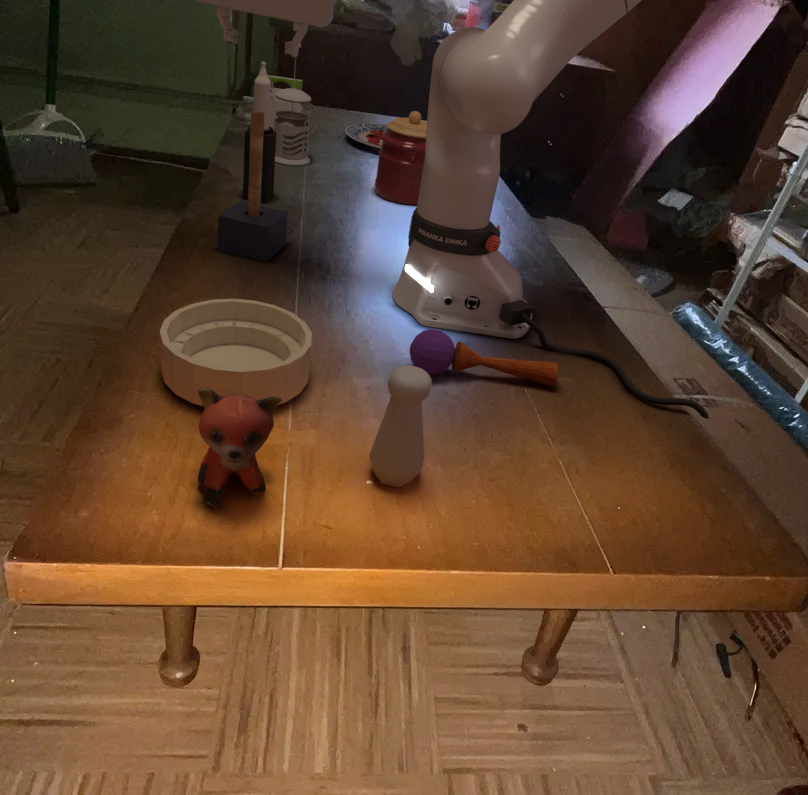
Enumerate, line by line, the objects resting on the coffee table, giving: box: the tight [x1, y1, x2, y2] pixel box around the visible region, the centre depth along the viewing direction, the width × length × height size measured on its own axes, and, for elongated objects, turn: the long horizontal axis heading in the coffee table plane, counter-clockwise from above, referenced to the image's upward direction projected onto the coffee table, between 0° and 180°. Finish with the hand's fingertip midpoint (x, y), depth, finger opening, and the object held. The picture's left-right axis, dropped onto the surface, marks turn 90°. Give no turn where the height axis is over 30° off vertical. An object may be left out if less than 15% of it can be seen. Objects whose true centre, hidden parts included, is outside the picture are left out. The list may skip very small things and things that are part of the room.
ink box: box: [267, 74, 303, 139], centre depth 183 cm, size 10×5×14 cm, turn 94°
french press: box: [274, 42, 319, 166], centre depth 163 cm, size 10×12×25 cm
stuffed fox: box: [197, 389, 282, 508], centre depth 71 cm, size 8×11×12 cm
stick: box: [247, 110, 264, 218], centre depth 118 cm, size 2×2×22 cm
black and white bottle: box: [242, 61, 276, 203], centre depth 138 cm, size 5×5×25 cm
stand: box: [217, 200, 289, 263], centre depth 122 cm, size 9×9×6 cm
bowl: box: [159, 298, 313, 407], centre depth 89 cm, size 18×18×6 cm
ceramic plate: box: [344, 122, 388, 151], centre depth 193 cm, size 26×26×3 cm
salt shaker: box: [369, 365, 433, 488], centre depth 75 cm, size 6×6×13 cm
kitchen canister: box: [374, 110, 427, 205], centre depth 155 cm, size 13×13×18 cm
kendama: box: [409, 328, 559, 388], centre depth 98 cm, size 6×6×20 cm
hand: (260, 49), depth 107 cm, fingers open, 8 cm apart
